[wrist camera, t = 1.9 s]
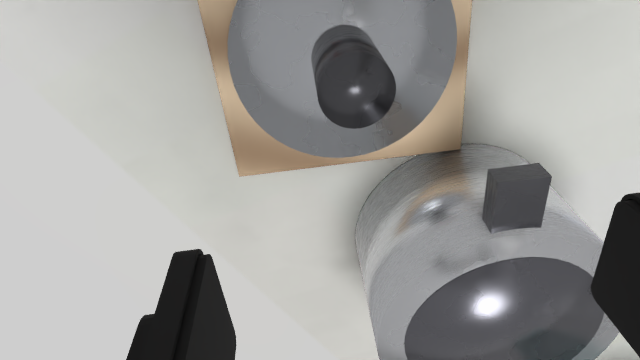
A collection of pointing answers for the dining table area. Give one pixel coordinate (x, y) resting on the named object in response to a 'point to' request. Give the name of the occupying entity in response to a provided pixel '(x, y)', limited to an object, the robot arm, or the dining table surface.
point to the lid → (341, 69)
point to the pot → (478, 262)
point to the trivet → (272, 156)
